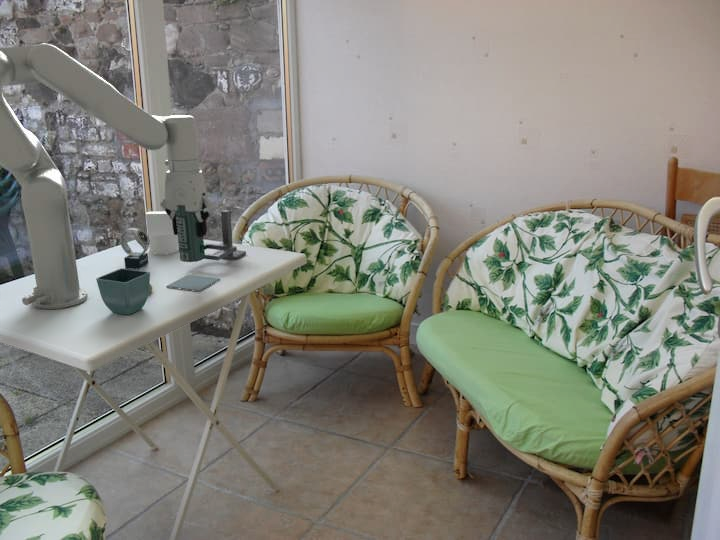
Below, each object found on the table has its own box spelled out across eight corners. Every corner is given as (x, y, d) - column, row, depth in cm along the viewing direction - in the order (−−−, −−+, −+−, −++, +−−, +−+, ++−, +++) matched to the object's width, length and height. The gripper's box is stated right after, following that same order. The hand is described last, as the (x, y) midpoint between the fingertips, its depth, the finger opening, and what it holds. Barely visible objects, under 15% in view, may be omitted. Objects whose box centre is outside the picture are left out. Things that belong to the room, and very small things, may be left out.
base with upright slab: (182, 246, 210) (179, 209, 206) (176, 254, 201) (173, 215, 197) (153, 246, 209) (149, 209, 205) (146, 254, 201) (142, 216, 197)
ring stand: (218, 272, 185) (215, 223, 180) (187, 268, 188) (183, 220, 184) (249, 254, 201) (247, 209, 196) (219, 251, 204) (216, 207, 199)
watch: (146, 269, 187) (142, 231, 183) (119, 267, 188) (115, 230, 185) (154, 263, 192) (151, 226, 189) (129, 262, 193) (125, 225, 190)
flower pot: (125, 302, 162) (121, 267, 160) (154, 306, 159) (151, 271, 156) (99, 314, 155) (94, 278, 152) (130, 319, 152) (125, 283, 149)
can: (208, 258, 173) (204, 202, 169) (188, 263, 169) (183, 206, 164) (196, 253, 177) (191, 198, 173) (176, 258, 173) (170, 202, 169)
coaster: (199, 291, 169) (199, 290, 169) (166, 287, 172) (166, 285, 172) (219, 279, 178) (219, 278, 178) (188, 275, 181) (188, 274, 181)
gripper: (145, 166, 165) (153, 235, 171) (205, 170, 159) (211, 241, 165) (163, 161, 172) (170, 228, 177) (222, 165, 166) (226, 233, 172)
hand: (190, 234), depth 171 cm, fingers closed on can, 6 cm apart
